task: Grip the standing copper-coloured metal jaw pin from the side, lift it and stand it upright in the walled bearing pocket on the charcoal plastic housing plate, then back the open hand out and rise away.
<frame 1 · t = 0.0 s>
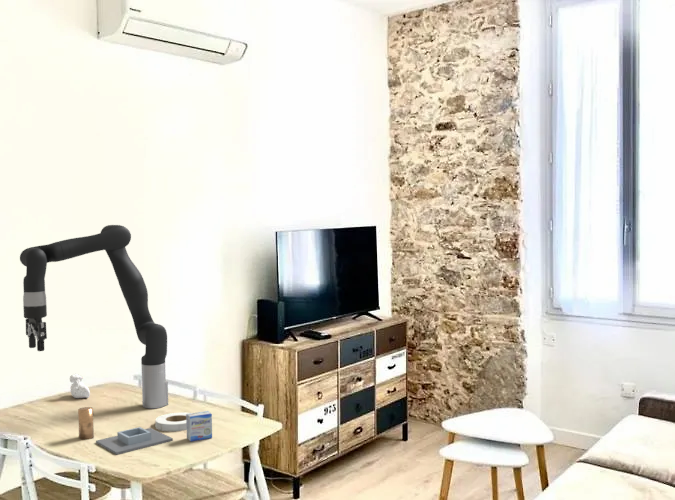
hand: (36, 349, 249), 29 cm above the table, tool pointing down, fingers open, 8 cm apart
medicine box: (199, 438, 240), on the table
housing: (134, 441, 237), on the table
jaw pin: (86, 437, 242), on the table
duck figurine: (79, 397, 295), on the table
roll of tape: (177, 426, 255), on the table
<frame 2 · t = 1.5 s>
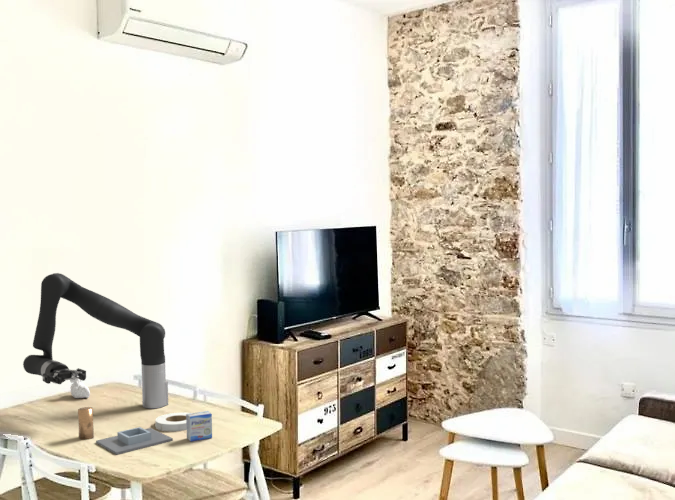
hand: (72, 379, 249), 18 cm above the table, tool horizontal, fingers open, 8 cm apart
nothing on the table moved.
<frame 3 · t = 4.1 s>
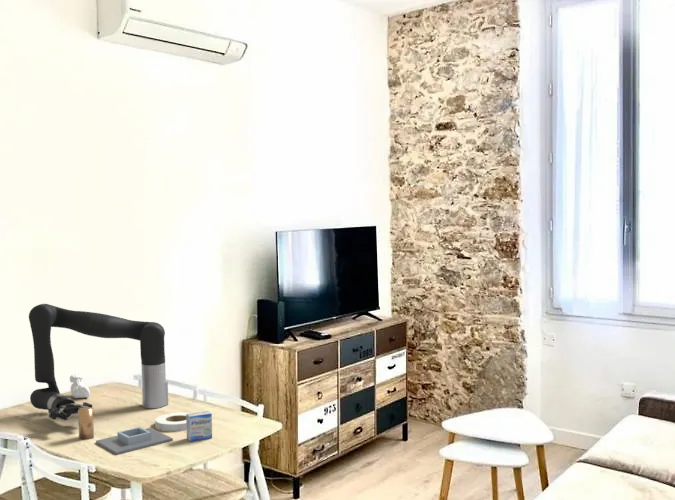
hand: (78, 414, 246), 7 cm above the table, tool horizontal, fingers open, 8 cm apart
nothing on the table moved.
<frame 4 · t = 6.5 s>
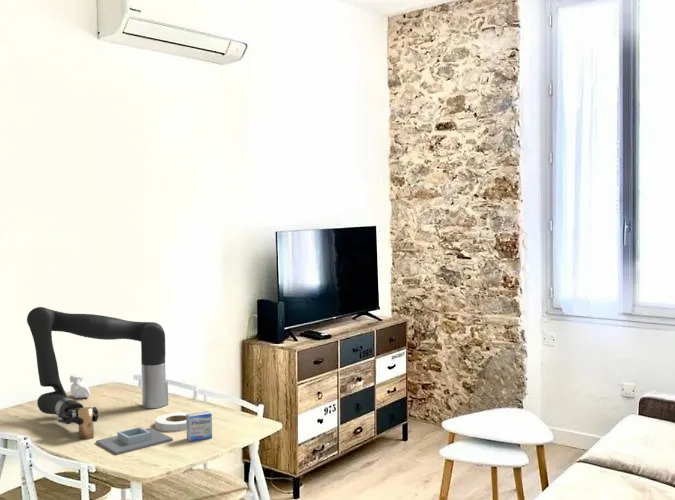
hand: (88, 420, 240), 7 cm above the table, tool horizontal, fingers closed on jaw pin, 4 cm apart
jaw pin: (86, 437, 242), on the table, touching gripper
everything else where it was.
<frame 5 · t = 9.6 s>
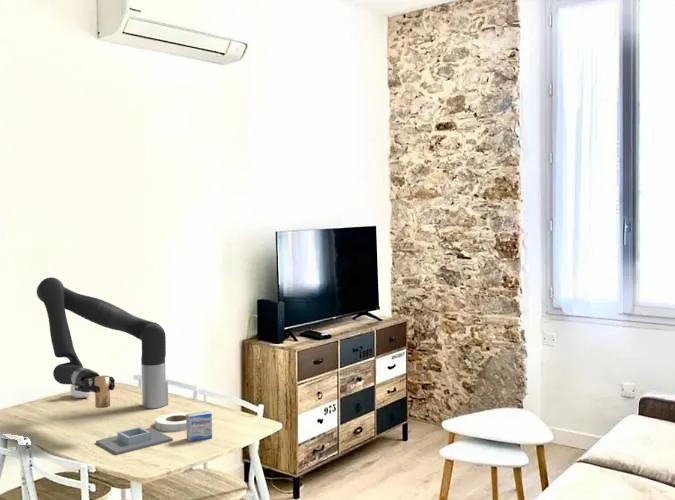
hand: (105, 388, 237), 18 cm above the table, tool horizontal, fingers closed on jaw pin, 4 cm apart
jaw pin: (102, 406, 239), point 12 cm above the table, touching gripper
everything else where it was.
when the fingers open (9 cm above the table, at t = 12.5 s): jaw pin drops 1 cm, resting on housing.
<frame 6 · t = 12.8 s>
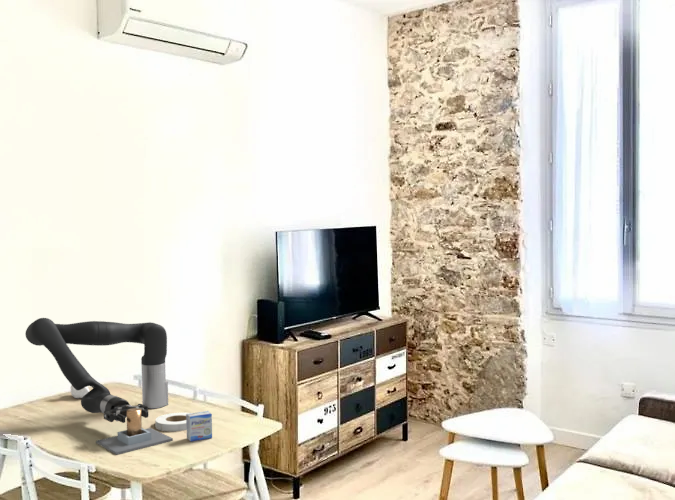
hand: (135, 417, 235), 9 cm above the table, tool horizontal, fingers open, 7 cm apart
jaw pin: (134, 439, 237), point 1 cm above the table, touching housing
everything else where it was.
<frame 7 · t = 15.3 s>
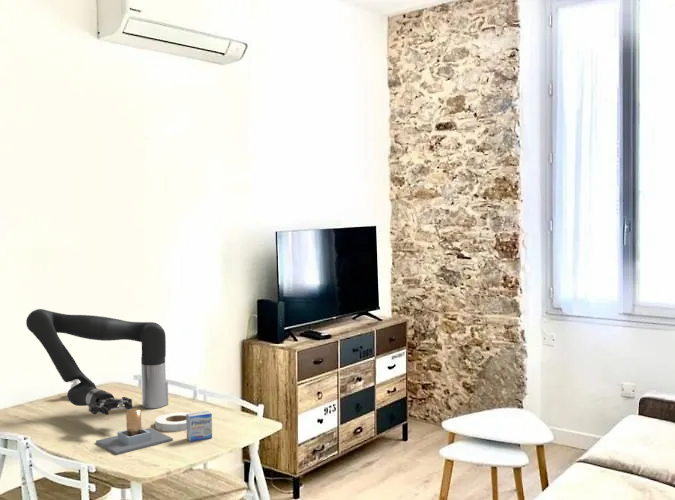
hand: (119, 409, 245), 9 cm above the table, tool horizontal, fingers open, 8 cm apart
nothing on the table moved.
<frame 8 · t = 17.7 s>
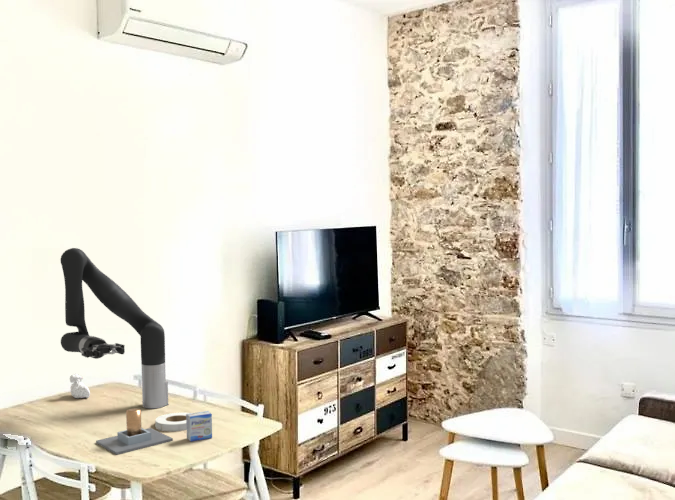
hand: (111, 353, 247), 28 cm above the table, tool horizontal, fingers open, 8 cm apart
nothing on the table moved.
at the end: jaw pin 0.0 cm off-centre on the housing, point 0.8 cm above the housing's base; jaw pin tilted 0°; the gripper is holding nothing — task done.
